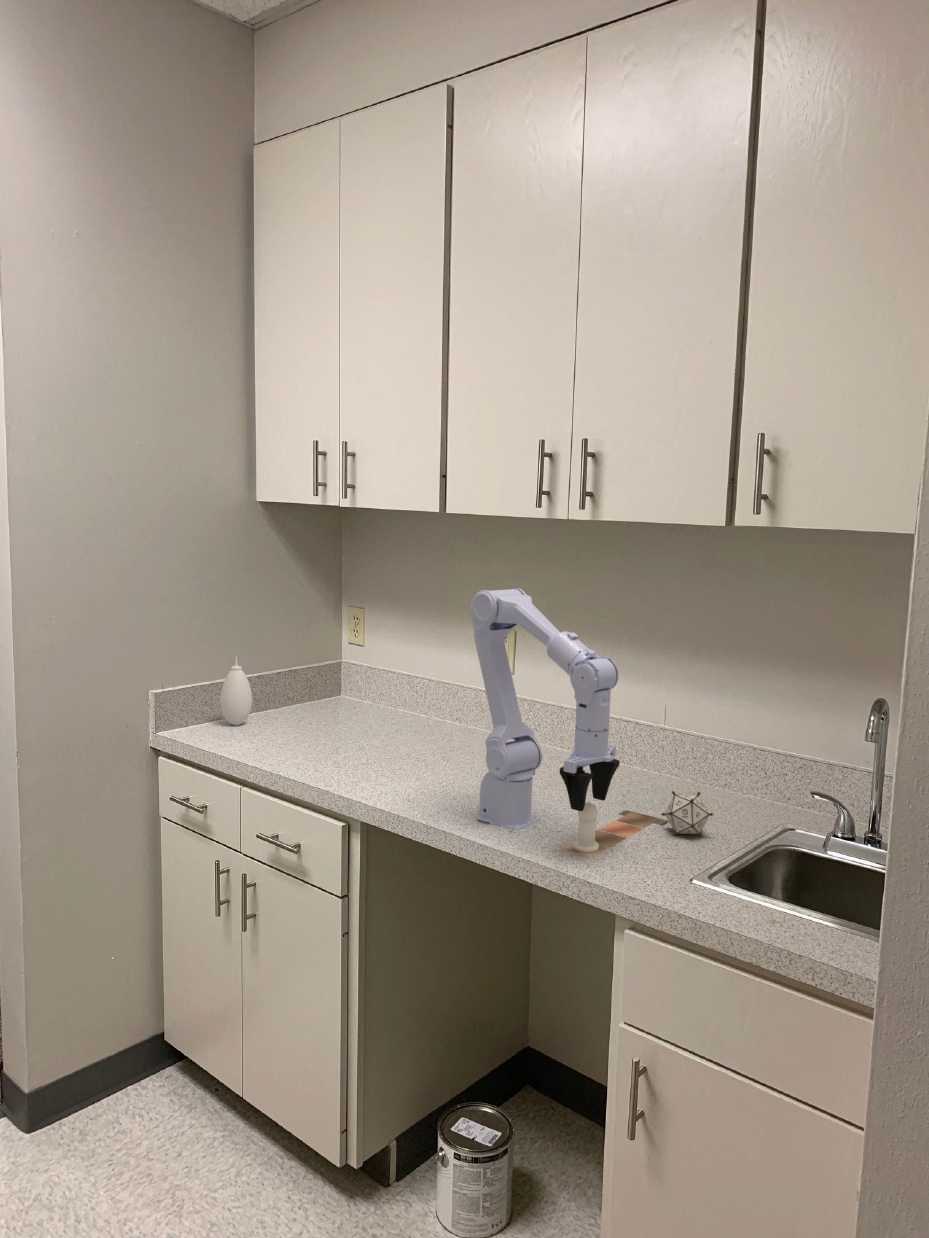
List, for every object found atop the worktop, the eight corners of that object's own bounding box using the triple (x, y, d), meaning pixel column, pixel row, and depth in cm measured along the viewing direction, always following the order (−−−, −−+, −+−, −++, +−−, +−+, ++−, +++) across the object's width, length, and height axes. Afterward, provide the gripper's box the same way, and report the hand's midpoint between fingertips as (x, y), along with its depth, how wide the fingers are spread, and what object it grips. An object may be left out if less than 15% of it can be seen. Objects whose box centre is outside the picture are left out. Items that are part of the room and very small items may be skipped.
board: (551, 850, 164) (551, 847, 164) (626, 811, 186) (626, 809, 186) (597, 863, 159) (597, 861, 159) (668, 822, 181) (668, 820, 181)
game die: (688, 851, 176) (714, 805, 178) (701, 851, 168) (728, 803, 170) (647, 824, 177) (673, 779, 179) (658, 823, 169) (685, 776, 171)
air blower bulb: (240, 729, 240) (240, 659, 237) (214, 726, 242) (214, 657, 240) (257, 723, 247) (257, 655, 244) (232, 719, 250) (232, 652, 247)
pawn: (568, 848, 164) (570, 803, 163) (581, 841, 168) (583, 797, 167) (590, 854, 162) (592, 808, 161) (603, 847, 165) (605, 802, 164)
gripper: (591, 739, 154) (587, 820, 156) (632, 724, 165) (628, 799, 167) (554, 732, 158) (551, 810, 160) (597, 717, 169) (593, 790, 171)
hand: (588, 804), depth 164 cm, fingers open, 7 cm apart
